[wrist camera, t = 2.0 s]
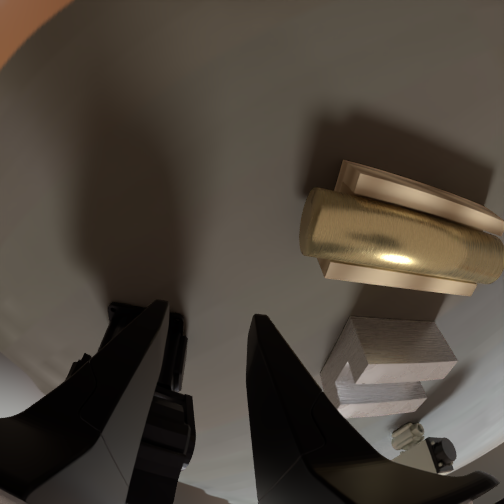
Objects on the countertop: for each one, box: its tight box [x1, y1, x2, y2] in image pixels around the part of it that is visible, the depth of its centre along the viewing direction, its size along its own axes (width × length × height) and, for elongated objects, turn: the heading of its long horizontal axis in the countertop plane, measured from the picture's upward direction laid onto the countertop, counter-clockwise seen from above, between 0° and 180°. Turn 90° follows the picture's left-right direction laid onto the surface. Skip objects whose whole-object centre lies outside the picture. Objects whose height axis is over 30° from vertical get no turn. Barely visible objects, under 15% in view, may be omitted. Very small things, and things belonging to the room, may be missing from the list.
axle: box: [299, 187, 504, 284], centre depth 19 cm, size 16×4×4 cm, turn 79°
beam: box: [317, 160, 504, 296], centre depth 20 cm, size 14×7×3 cm, turn 79°
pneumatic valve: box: [391, 423, 456, 475], centre depth 34 cm, size 6×12×12 cm, turn 148°
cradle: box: [320, 316, 458, 418], centre depth 26 cm, size 10×8×6 cm
